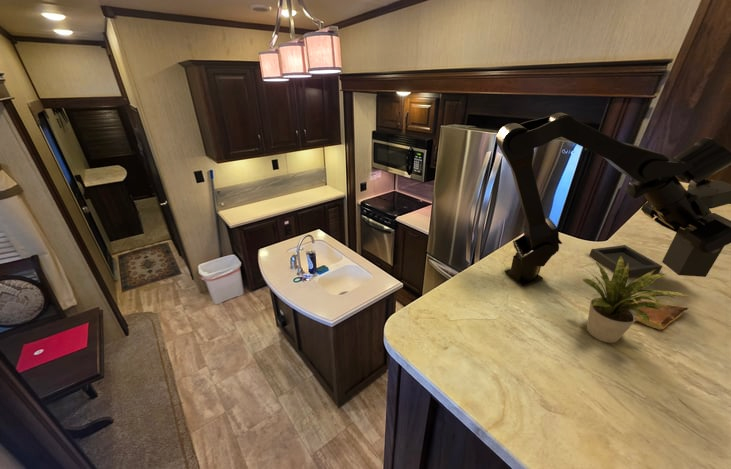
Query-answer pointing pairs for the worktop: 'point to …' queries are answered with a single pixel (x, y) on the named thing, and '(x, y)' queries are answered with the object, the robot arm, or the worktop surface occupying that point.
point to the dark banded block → (690, 253)
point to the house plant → (621, 302)
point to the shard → (661, 315)
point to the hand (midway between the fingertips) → (704, 244)
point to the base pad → (625, 260)
